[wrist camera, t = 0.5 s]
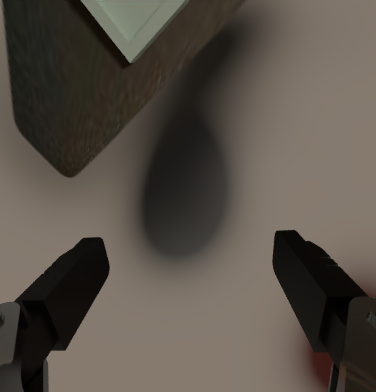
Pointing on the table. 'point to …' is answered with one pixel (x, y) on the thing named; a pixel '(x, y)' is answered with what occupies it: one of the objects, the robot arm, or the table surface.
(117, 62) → the table surface
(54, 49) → the table surface
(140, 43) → the sage tray
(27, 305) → the robot arm
